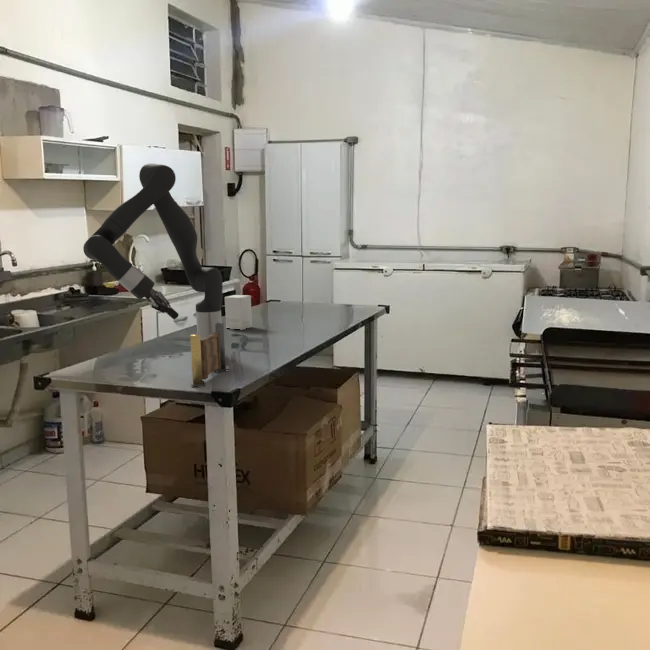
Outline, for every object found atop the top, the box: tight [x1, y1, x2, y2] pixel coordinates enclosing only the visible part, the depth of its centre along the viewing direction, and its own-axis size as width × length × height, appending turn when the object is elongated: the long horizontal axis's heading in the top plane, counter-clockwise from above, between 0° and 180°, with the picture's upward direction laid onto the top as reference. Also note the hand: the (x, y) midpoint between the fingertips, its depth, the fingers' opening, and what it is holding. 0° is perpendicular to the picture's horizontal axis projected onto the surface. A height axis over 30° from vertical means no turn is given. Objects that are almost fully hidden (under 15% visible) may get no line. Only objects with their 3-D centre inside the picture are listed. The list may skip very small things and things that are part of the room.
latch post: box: [189, 333, 206, 387], centre depth 216 cm, size 4×4×16 cm
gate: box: [200, 332, 221, 380], centre depth 226 cm, size 17×2×13 cm, turn 168°
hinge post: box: [215, 322, 231, 372], centre depth 236 cm, size 5×5×16 cm
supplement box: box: [224, 294, 253, 331], centre depth 319 cm, size 9×9×15 cm
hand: (176, 317), depth 231 cm, fingers closed
